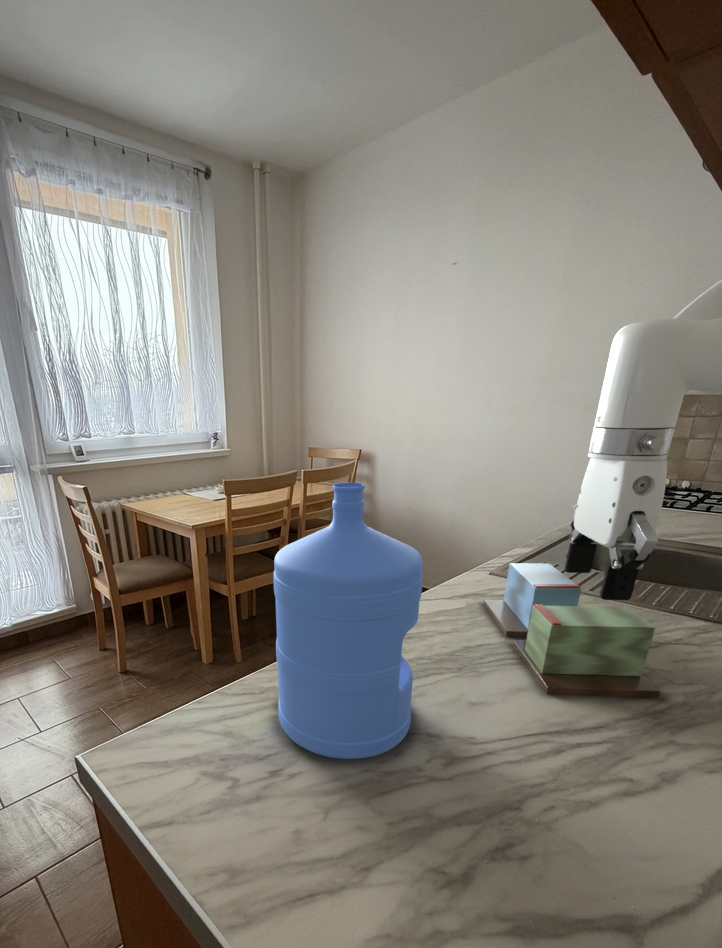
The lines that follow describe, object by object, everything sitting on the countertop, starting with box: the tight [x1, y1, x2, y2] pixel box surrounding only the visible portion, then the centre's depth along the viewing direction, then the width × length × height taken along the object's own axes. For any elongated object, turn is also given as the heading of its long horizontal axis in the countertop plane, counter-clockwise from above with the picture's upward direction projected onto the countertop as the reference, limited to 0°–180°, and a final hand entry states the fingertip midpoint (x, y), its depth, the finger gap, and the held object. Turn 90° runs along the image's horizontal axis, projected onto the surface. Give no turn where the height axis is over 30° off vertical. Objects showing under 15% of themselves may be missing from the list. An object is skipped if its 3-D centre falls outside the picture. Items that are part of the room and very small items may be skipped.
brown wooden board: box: [512, 639, 661, 699], centre depth 66 cm, size 13×13×2 cm
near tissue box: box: [525, 604, 656, 676], centre depth 64 cm, size 12×6×7 cm, turn 83°
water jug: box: [272, 482, 424, 760], centre depth 53 cm, size 16×16×28 cm
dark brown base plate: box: [482, 599, 528, 638], centre depth 81 cm, size 13×13×2 cm
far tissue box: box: [503, 562, 582, 629], centre depth 79 cm, size 12×6×7 cm, turn 173°
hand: (594, 584), depth 62 cm, fingers open, 9 cm apart
